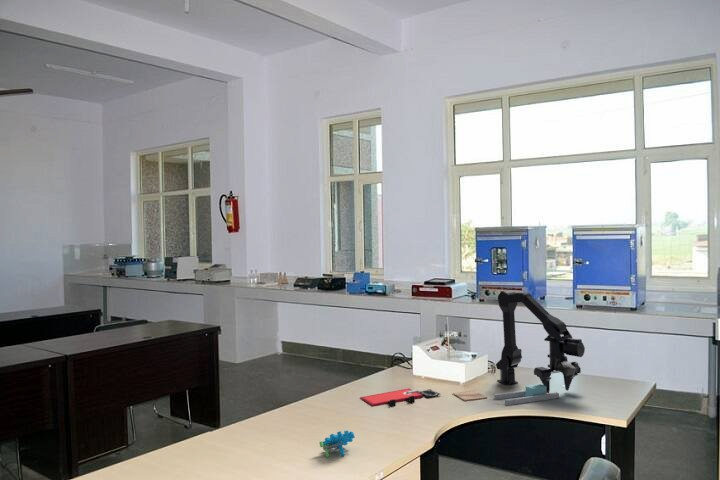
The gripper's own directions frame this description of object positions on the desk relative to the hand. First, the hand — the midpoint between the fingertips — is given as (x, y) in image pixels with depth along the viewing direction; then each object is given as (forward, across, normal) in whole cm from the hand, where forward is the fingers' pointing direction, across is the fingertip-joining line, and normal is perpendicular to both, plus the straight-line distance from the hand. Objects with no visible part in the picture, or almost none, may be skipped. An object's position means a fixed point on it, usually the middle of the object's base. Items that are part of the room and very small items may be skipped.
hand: (557, 391), depth 220 cm
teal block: (+1, -10, 0) cm, 10 cm away
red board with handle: (+2, -60, +20) cm, 63 cm away
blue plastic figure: (+1, -99, -22) cm, 101 cm away
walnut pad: (+1, -34, +11) cm, 35 cm away
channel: (+1, -15, 0) cm, 15 cm away
